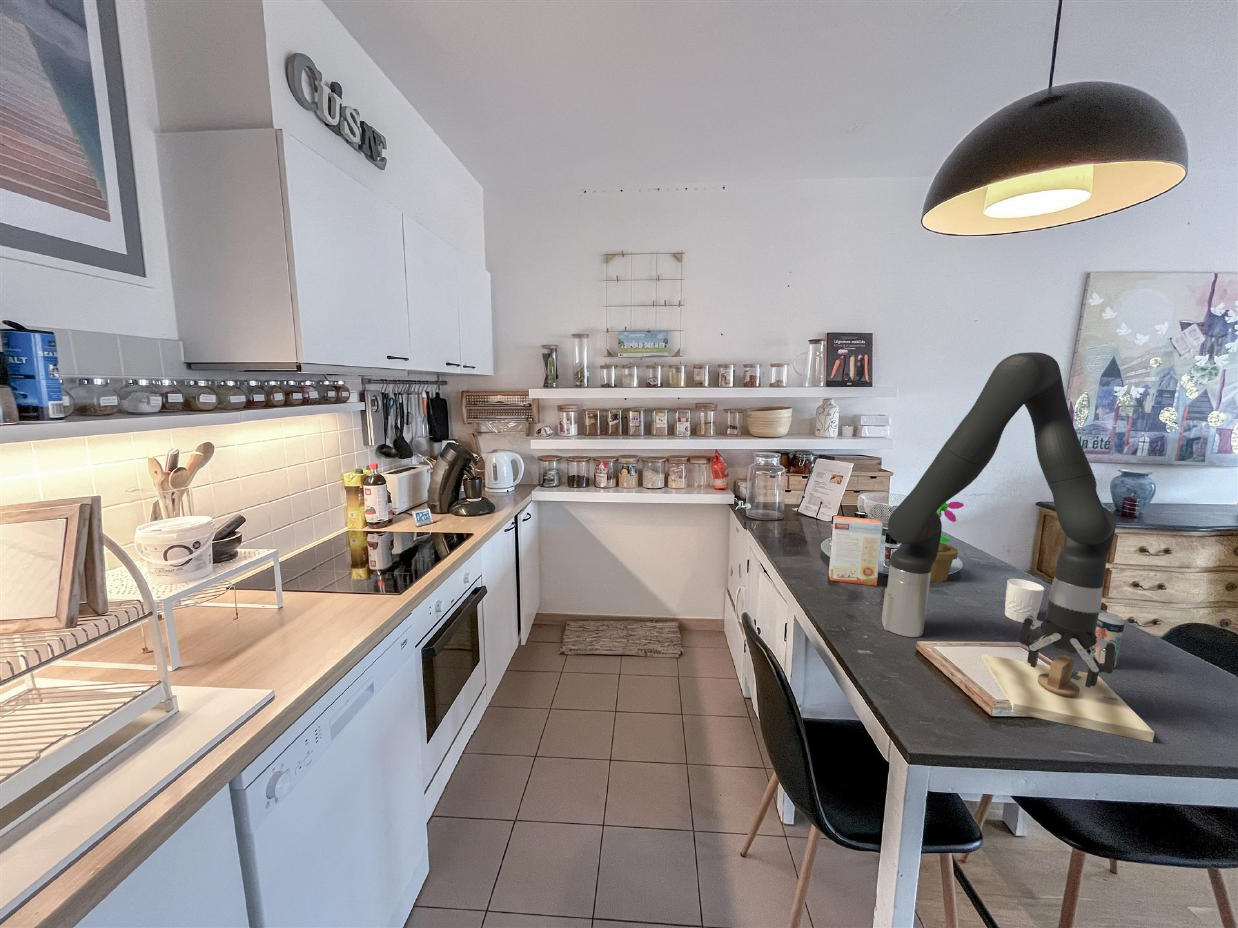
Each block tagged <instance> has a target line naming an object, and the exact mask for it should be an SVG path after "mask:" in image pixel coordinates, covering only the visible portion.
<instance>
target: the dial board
mask: <svg viewBox="0 0 1238 928" xmlns="http://www.w3.org/2000/svg"><path fill="white" fill-rule="evenodd" d="M981 659H982V660H983V662H984V663H985V665H986V667H987V669H988V670H989V672H990V673H991V675H992V676H993V678H994V679H995V681H996V682H997V683H998V685H999V687H1000V688H1001V689H1002V691H1003V693H1004V695H1005V696H1006V698H1007V699H1008V700H1009V701H1010V703H1011V705H1012V710H1010V711H1011V713H1013V714H1018V715H1022V716H1027V717H1031V718H1035V719H1040V720H1045V721H1049V722H1055V723H1059V724H1065V725H1068V726H1069V725H1070V726H1074V727H1079V728H1082V729H1083V728H1084V729H1089V730H1093V731H1097V732H1102V733H1105V734H1112V735H1116V736H1122V737H1126V738H1130V739H1135V740H1141V741H1145V742H1150V743H1153V741H1154V737H1155V734H1156V733H1155V731H1154V730H1153V729H1152V728H1151V727H1150V726H1149V725H1148V724H1147V723H1146V722H1145V721H1144V720H1143V719H1142V718H1141V717H1140V716H1139V715H1138V713H1136V712H1135V711H1134V710H1133V709H1132V708H1131V707H1130V706H1129V705H1128V704H1127V703H1126V702H1125V701H1124V700H1123V699H1122V698H1121V697H1120V696H1119V695H1118V694H1117V693H1116V692H1115V691H1114V690H1113V688H1111V686H1109V685H1108V684H1107V683H1106V682H1105V680H1103V679H1102V678H1101V677H1100V676H1099V675H1098V679H1097V683H1096V685H1095V686H1091V687H1090V688H1088V687H1086V686H1085V684H1086V679H1087V674H1088V672H1085V671H1084V672H1083V671H1079V670H1077V671H1078V674H1077V675H1075V676H1074V677H1073V678H1071V680H1070V681H1072V682H1073V683H1075V684H1076V685H1077V686H1078V687H1079V688H1080V692H1079V695H1078V696H1077V697H1067V696H1062V695H1059V694H1056V693H1053V692H1051V691H1049V690H1047V689H1045V688H1044V687H1042V686H1041V685H1040V684H1039V683H1038V676H1039V675H1040V674H1049V671H1050V666H1051V665H1045V664H1042V663H1041V664H1040V663H1037V665H1036V667H1035V668H1034V667H1031V666H1030V665H1031V664H1030V663H1028V661H1023V660H1018V659H1011V658H1006V657H1001V656H995V655H990V654H984V653H982V654H981ZM1073 670H1074V669H1072V671H1073Z"/></svg>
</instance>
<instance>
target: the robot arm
mask: <svg viewBox="0 0 1238 928" xmlns="http://www.w3.org/2000/svg"><path fill="white" fill-rule="evenodd" d="M1023 405H1024V406H1025V408H1026V410H1027V412H1028V415H1029V416H1030V420H1031V423H1032V427H1033V432H1034V441H1035V442H1034V443H1035V450H1036V456H1037V461H1038V464H1039V466H1040V469H1041V472H1042V474H1043V476H1044V478H1045V481H1046V483H1047V485H1048V488H1049V489H1050V492H1051V495H1052V497H1053V503H1054V507H1055V512H1056V516H1057V519H1058V523H1059V525H1060V528H1061V529H1062V532H1064V534H1065V537H1064V543H1063V548H1062V549H1061V551H1060V553H1059V555H1058V557H1057V560H1056V561H1057V562H1056V566H1055V572H1054V578H1053V580H1052V583H1051V585H1050V591H1049V596H1048V601H1047V608H1046V613H1045V617H1044V620H1039V619H1034V617H1033V616H1031V615H1029V616H1027V617H1026V619H1025V620H1024V623H1023V624H1022V626H1021V630H1020V636H1019V639H1018V642H1019V643H1020V644H1021V645H1024V646H1026V647H1027V648H1028V655H1027V659H1026V660H1027V661H1026V662H1028V663H1030V664H1031V665H1030V666H1031V667H1034V668H1035V667H1036V665H1037V664H1038V659H1039V655H1040V650H1041V649H1042V648H1044V647H1046V646H1049V645H1050V644H1051V645H1052V646H1054V648H1056V649H1060V650H1061V649H1062V650H1065V651H1067V652H1068V653H1072V654H1079V656H1080V657H1081V658H1082V660H1083V661H1084V662H1085V663H1086V664H1087V666H1088V670H1087V673H1088V674H1087V679H1086V684H1085V686H1086V687H1088V688H1090V687H1091V686H1095V685H1096V683H1097V679H1098V676H1099V673H1106V674H1113V671H1114V669H1115V667H1114V664H1115V655H1116V646H1117V643H1116V642H1115V641H1113V640H1109V641H1106V640H1102V639H1098V638H1097V637H1096V634H1095V631H1096V626H1097V621H1098V616H1099V612H1101V611H1100V610H1101V609H1102V600H1103V586H1104V582H1105V581H1104V580H1105V577H1106V566H1107V559H1108V556H1109V553H1110V550H1111V545H1112V543H1113V540H1114V538H1115V537H1114V536H1115V533H1116V528H1117V520H1116V518H1115V515H1114V514H1113V513H1112V511H1111V510H1109V509H1108V508H1107V507H1105V506H1103V504H1102V501H1101V500H1100V497H1099V495H1098V492H1097V479H1096V477H1095V475H1094V471H1093V469H1092V467H1091V464H1090V462H1089V460H1088V458H1087V456H1086V454H1085V451H1084V449H1083V448H1084V447H1083V446H1082V444H1081V442H1080V439H1079V437H1078V435H1077V431H1076V428H1075V425H1074V423H1073V420H1072V417H1071V413H1070V410H1069V406H1068V402H1067V399H1066V393H1065V388H1064V381H1063V377H1062V372H1061V368H1060V365H1059V363H1058V361H1057V360H1056V359H1055V358H1054V357H1053V356H1051V355H1050V354H1047V353H1043V352H1039V351H1037V352H1018V353H1014V354H1011V355H1008V356H1007V357H1005V358H1003V359H1002V360H1001V361H1000V362H998V364H997V365H996V366H995V367H994V369H993V370H992V372H991V374H990V376H989V377H988V379H987V380H986V382H985V384H984V386H983V388H982V390H981V392H980V393H979V396H978V397H977V399H976V401H975V402H974V404H973V406H971V408H970V410H969V412H967V414H966V415H965V416H964V418H963V419H962V420H961V421H960V422H959V424H958V426H957V427H956V429H955V430H954V431H953V432H952V433H951V435H950V437H948V439H947V440H946V441H945V443H944V444H943V446H942V447H941V448H940V450H939V451H938V452H937V455H936V456H935V458H934V459H933V460H932V462H931V464H930V465H929V466H928V468H927V469H926V471H925V472H924V473H923V475H922V476H921V477H920V479H919V480H918V482H917V484H915V486H914V488H913V489H912V490H911V491H910V492H909V494H908V495H907V496H906V497H905V498H904V499H903V500H902V501H901V502H900V504H899V505H898V506H897V507H896V508H895V509H894V510H893V511H892V513H891V514H890V516H889V519H888V520H887V531H888V534H889V536H890V538H891V539H892V540H894V541H895V542H897V543H899V544H900V545H899V546H898V548H897V549H895V550H894V551H893V552H892V553H891V556H890V558H889V559H890V561H889V568H888V577H887V587H885V588H884V596H883V603H882V605H883V606H882V614H881V623H882V625H883V629H884V631H888V632H891V633H894V634H895V635H899V636H903V637H907V638H908V637H909V638H919V637H922V635H923V634H924V629H925V620H926V615H927V605H928V597H929V590H930V583H931V581H930V576H931V569H932V565H933V563H934V562H935V560H936V558H937V554H938V549H939V544H940V543H941V542H940V539H941V536H942V531H943V524H942V520H941V518H940V517H939V515H938V513H937V512H936V511H937V510H938V509H939V508H940V507H941V506H942V505H943V504H944V503H945V502H946V503H947V502H948V501H949V500H951V499H952V498H954V497H955V496H956V495H958V494H960V492H962V491H963V490H964V489H966V488H967V487H968V486H969V485H971V484H972V483H973V482H974V481H976V479H977V478H978V477H979V475H980V474H981V473H982V472H983V470H984V469H985V468H986V467H987V465H988V464H989V463H990V461H991V460H992V459H993V457H994V455H995V453H996V451H997V448H998V446H999V443H1000V440H1001V438H1002V435H1003V432H1004V431H1005V429H1006V427H1007V425H1008V424H1009V422H1010V420H1011V419H1012V418H1013V417H1014V416H1015V414H1016V413H1017V412H1018V411H1019V410H1020V409H1021V408H1022V407H1023ZM1037 627H1040V630H1041V631H1042V632H1043V633H1044V635H1042V636H1041V637H1040V638H1037V639H1036V640H1032V639H1031V638H1030V637H1031V633H1032V630H1036V629H1037ZM1095 644H1097V645H1099V646H1100V649H1101V650H1102V651H1103V652H1105V661H1104V663H1099V662H1098V660H1097V659H1096V657H1095V656H1094V653H1093V651H1092V650H1091V648H1090V647H1092V646H1094V645H1095Z"/></svg>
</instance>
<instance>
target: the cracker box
mask: <svg viewBox="0 0 1238 928" xmlns="http://www.w3.org/2000/svg"><path fill="white" fill-rule="evenodd" d="M883 526H884V524H883V523H882V521H881V520H880V519H874V518H865V517H864V518H861V517H852V516H841V515H840V516H838V515H834V516H833V520H832V531H831V532H832V533H831V543H830V544H831V545H830V553H829V555H830V557H829V567H828V577H829V580H830V581H832V582H841V583H850V584H858V585H866V586H874V587H877V586H878V585H877V584H878V577H879V567H880V559H881V558H880V557H881V556H880V555H881V547H882V537H883V528H884V527H883Z"/></svg>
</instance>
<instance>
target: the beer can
mask: <svg viewBox="0 0 1238 928" xmlns="http://www.w3.org/2000/svg"><path fill="white" fill-rule="evenodd" d="M1125 625H1126V624H1125V621H1124V619H1123V616H1120V615H1118V614H1115V613H1113V612H1107V611H1099V616H1098V621H1097V626H1096V631H1095V634H1096V637H1097V638H1098V639H1102V640H1106V641H1109V640H1113V641H1115V642H1116V643H1117V646H1116V655H1115V664H1114V668H1115V667H1116V666H1117V662H1118V657H1119V653H1120V648H1121V642H1122V638H1123V633H1124V629H1125ZM1090 648H1091V650H1092V651H1093V653H1094V656H1095V657H1096V659H1097V660H1098V662H1099V663H1104V661H1105V652H1103V651H1102V650H1101V649H1100V646H1099V645H1097V644H1095V645H1094V646H1092V647H1090Z"/></svg>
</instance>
